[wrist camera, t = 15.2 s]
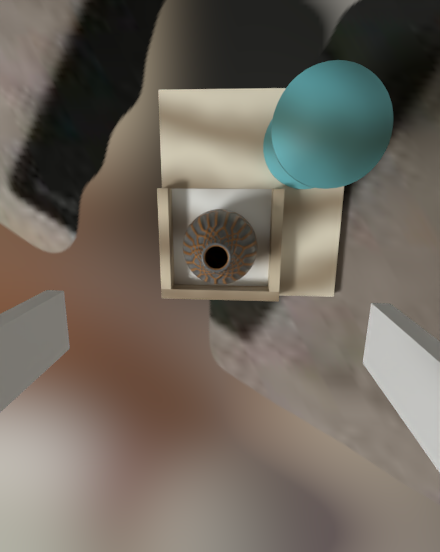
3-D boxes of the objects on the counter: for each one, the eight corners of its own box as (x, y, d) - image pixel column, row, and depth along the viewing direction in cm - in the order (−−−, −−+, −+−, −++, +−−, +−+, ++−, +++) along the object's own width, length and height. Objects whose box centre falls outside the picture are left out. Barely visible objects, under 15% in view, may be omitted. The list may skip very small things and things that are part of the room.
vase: (218, 192, 33) (210, 193, 25) (269, 237, 34) (279, 252, 25) (176, 244, 35) (155, 262, 26) (226, 286, 35) (221, 316, 27)
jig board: (160, 92, 32) (123, 46, 22) (350, 90, 31) (403, 41, 21) (167, 289, 37) (139, 327, 27) (331, 293, 36) (366, 334, 26)
